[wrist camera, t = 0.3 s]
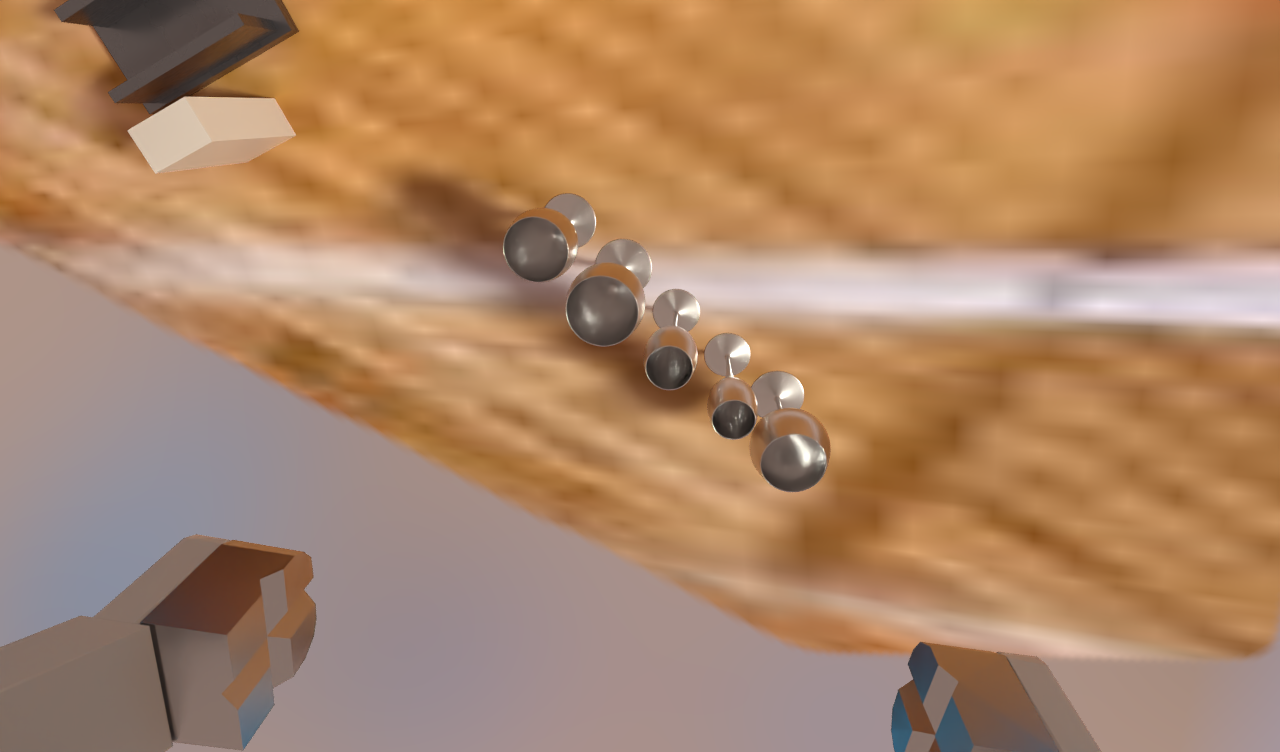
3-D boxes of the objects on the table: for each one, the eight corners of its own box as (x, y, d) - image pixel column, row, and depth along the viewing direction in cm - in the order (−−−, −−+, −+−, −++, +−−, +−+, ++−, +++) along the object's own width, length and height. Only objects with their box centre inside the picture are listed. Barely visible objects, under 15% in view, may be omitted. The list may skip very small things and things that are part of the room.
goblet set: (525, 229, 56) (474, 264, 43) (568, 173, 54) (527, 193, 41) (777, 438, 61) (796, 523, 48) (824, 393, 59) (857, 470, 46)
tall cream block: (224, 126, 55) (126, 130, 45) (274, 98, 54) (184, 96, 44) (247, 162, 56) (155, 173, 46) (296, 135, 54) (212, 141, 45)
